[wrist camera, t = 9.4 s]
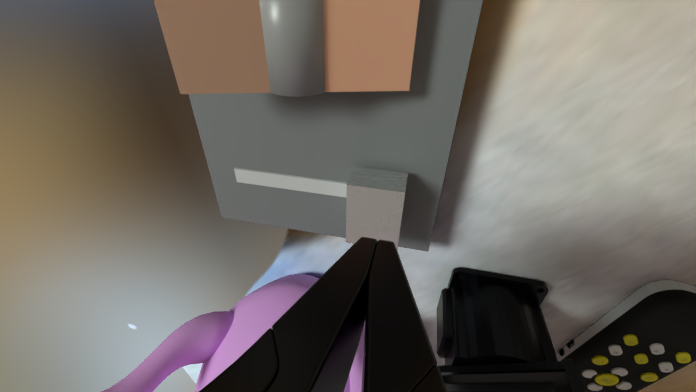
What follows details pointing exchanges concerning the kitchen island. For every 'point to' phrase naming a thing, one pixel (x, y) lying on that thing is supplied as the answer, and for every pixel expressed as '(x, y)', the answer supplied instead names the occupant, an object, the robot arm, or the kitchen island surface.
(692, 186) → the kitchen island surface
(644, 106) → the kitchen island surface
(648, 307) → the remote control
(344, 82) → the rocker
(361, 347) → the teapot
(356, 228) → the small grey block
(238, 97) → the panel
